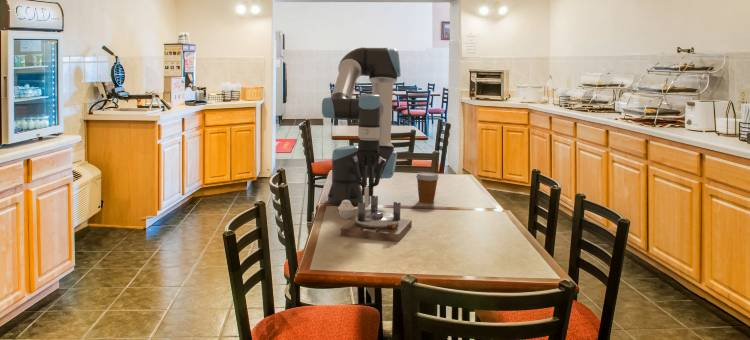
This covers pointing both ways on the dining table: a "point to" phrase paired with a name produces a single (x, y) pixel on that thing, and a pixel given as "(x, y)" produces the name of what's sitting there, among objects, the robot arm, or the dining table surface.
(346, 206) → the muffin
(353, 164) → the robot arm
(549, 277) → the dining table surface
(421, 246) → the dining table surface
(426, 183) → the disposable coffee cup
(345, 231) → the stand
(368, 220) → the capstan
